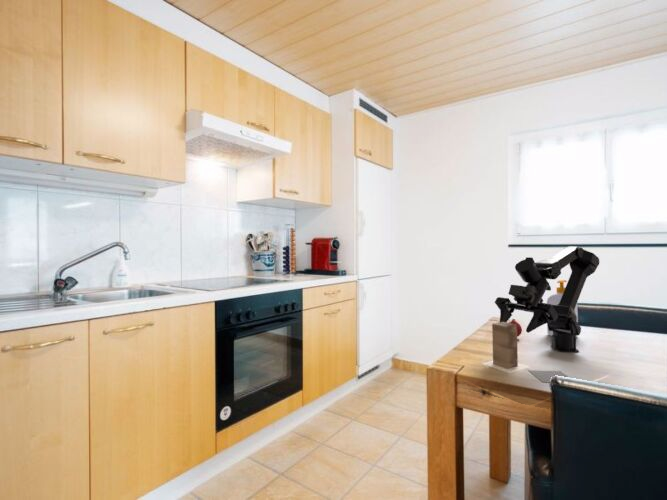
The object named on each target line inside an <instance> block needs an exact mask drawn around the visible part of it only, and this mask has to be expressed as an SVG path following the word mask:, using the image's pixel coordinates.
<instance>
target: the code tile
mask: <svg viewBox="0 0 667 500" xmlns="http://www.w3.org/2000/svg"><path fill="white" fill-rule="evenodd" d="M480 364H482V365H485V366H487V367H490V368H493V369H495V370H499V371H501V372H504V373H508V374H512V373H516V372H518V371H519V372H520V371H521V370H525V369H529V368H530V366H529V365H526V364H522V363H519V362H518V366H516V367H513V368H509V369H506V368H503V367H500V366H497V365H494V364H493V359H492V360H489V361H485V362H481V363H480Z"/></svg>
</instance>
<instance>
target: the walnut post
mask: <svg viewBox="0 0 667 500" xmlns="http://www.w3.org/2000/svg"><path fill="white" fill-rule="evenodd" d="M491 326H492V328H491V329H492V360H493V364H494V365H497V366H500V367H503V368H506V369H509V368H513V367H516V366H518V363H519V361H518V359H519V358H518V337H517V325H516V324H511V323H509V322H500V321H499V322H494V323H492V324H491Z"/></svg>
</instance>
